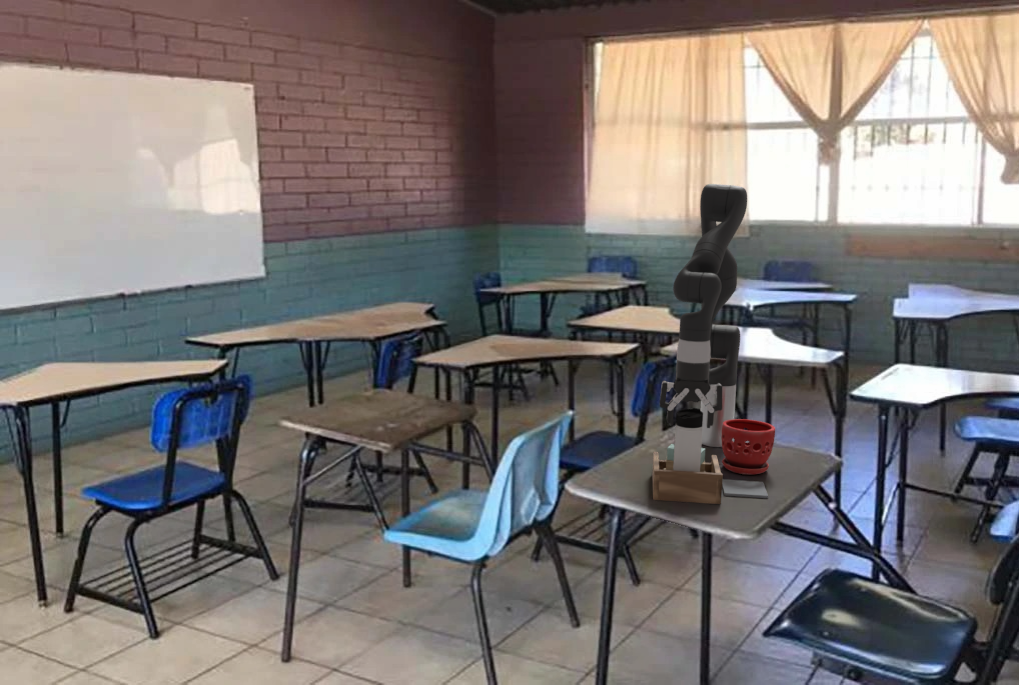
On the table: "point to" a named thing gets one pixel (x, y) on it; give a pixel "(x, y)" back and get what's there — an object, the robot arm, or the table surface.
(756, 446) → the plant pot
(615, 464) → the table surface
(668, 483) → the wooden box
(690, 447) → the travel mug
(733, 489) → the mat
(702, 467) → the offcut mid
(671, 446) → the offcut top
